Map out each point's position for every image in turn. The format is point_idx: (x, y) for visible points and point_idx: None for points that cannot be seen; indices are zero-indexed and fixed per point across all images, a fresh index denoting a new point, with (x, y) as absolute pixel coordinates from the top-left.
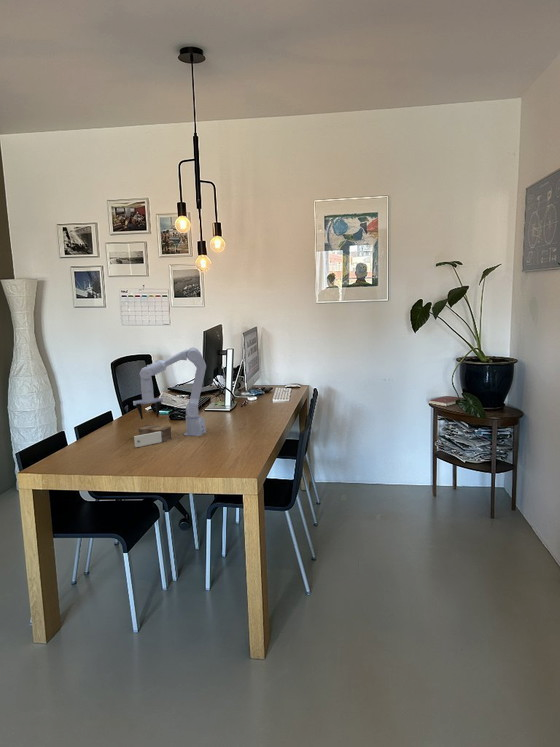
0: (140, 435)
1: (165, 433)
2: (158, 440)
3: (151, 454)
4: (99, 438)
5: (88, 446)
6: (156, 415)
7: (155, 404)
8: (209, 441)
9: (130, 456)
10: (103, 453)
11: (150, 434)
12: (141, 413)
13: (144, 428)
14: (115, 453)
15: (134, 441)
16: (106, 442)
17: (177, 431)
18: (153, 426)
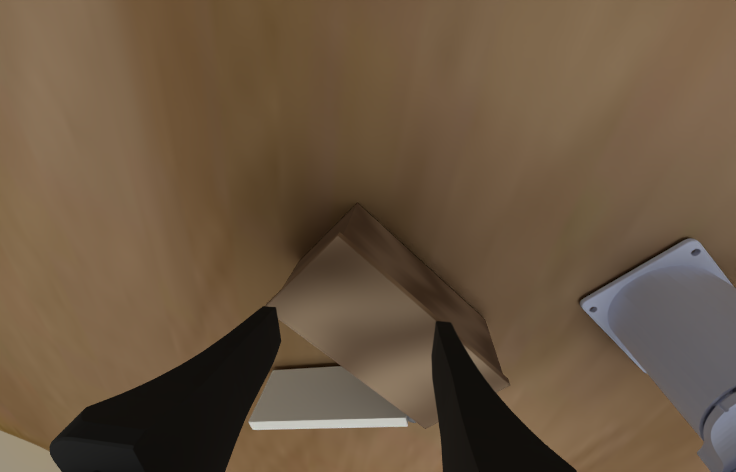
0: (283, 426)
1: None
2: None
3: (336, 460)
4: (6, 39)
5: (22, 218)
6: (435, 345)
7: (468, 458)
8: (621, 455)
9: (260, 442)
10: (146, 363)
11: (341, 423)
12: (243, 407)
13: (311, 335)
14: None
15: (261, 395)
16: (101, 189)
17: (604, 172)
18: (385, 320)
